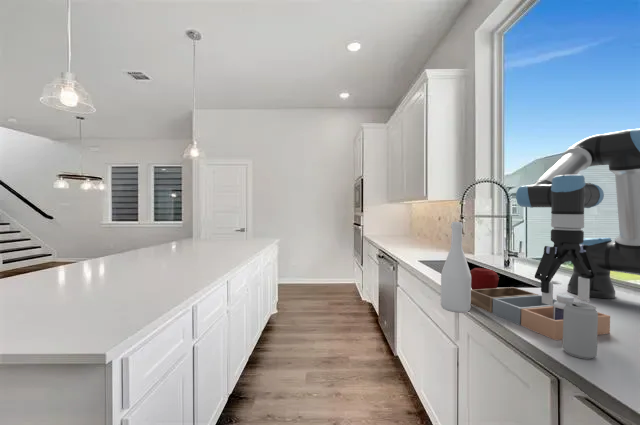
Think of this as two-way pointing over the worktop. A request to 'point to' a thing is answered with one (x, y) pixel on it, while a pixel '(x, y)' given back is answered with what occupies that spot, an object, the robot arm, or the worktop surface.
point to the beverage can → (580, 330)
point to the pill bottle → (561, 306)
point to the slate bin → (516, 306)
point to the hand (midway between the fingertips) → (565, 302)
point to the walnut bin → (494, 296)
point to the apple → (483, 278)
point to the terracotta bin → (554, 322)
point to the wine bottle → (456, 276)
